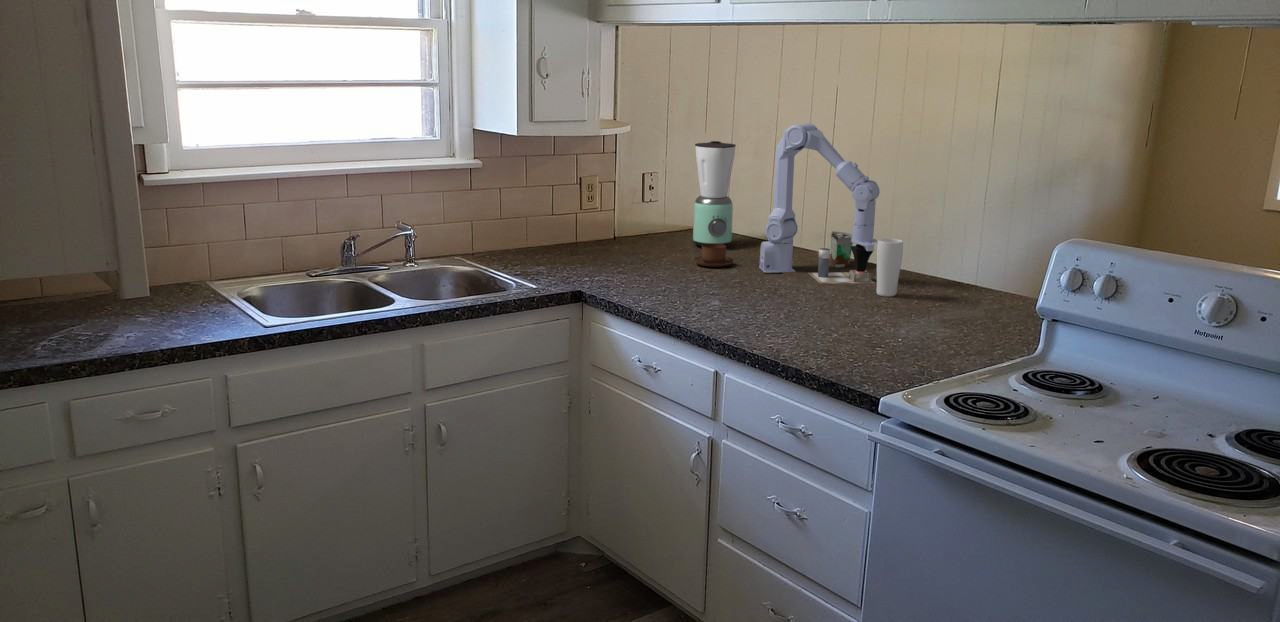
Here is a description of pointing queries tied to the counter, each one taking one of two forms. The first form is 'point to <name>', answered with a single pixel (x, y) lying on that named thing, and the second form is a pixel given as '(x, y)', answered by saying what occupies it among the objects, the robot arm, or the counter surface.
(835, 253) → the food container
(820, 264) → the cylinder
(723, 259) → the cup and saucer
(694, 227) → the mint green blender
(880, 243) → the drinking glass
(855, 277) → the control panel
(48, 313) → the counter surface
